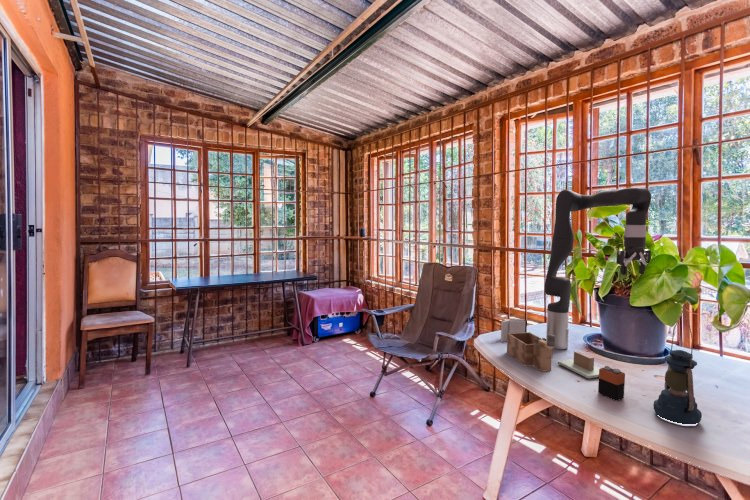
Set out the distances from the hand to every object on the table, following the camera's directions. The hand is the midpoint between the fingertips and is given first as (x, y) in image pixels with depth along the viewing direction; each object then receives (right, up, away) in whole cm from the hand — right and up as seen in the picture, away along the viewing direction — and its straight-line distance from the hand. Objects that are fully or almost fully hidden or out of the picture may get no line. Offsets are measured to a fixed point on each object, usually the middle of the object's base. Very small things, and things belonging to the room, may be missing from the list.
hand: (632, 274), depth 165 cm
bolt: (-39, -28, -7) cm, 49 cm away
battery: (-26, -41, -28) cm, 56 cm away
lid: (-24, -39, -6) cm, 46 cm away
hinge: (-39, -35, +33) cm, 62 cm away
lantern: (-15, -42, -43) cm, 62 cm away
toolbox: (-41, -37, +4) cm, 56 cm away
